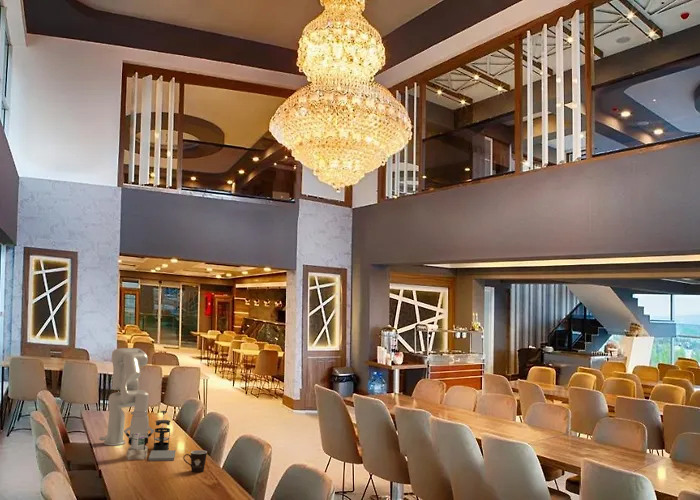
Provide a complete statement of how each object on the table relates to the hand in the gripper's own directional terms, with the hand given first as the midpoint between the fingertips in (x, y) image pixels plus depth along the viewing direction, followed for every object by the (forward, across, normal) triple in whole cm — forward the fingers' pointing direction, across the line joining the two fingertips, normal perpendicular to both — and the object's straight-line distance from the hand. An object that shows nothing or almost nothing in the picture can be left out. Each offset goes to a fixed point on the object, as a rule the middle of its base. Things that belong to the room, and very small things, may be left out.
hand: (138, 444), depth 336 cm
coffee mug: (+7, +33, -31) cm, 46 cm away
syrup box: (+7, 0, 0) cm, 7 cm away
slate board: (+7, +14, 0) cm, 16 cm away
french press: (+7, +12, +19) cm, 24 cm away
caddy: (+7, 0, 0) cm, 7 cm away
